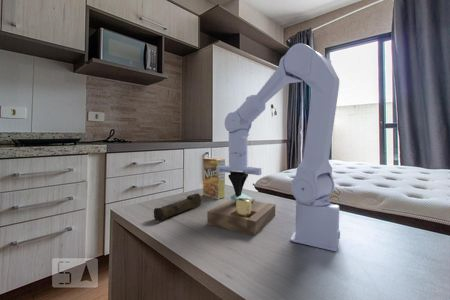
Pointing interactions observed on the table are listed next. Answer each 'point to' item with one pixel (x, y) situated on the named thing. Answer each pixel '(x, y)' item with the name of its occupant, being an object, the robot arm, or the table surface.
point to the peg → (243, 207)
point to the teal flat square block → (241, 197)
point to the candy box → (213, 178)
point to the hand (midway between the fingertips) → (238, 196)
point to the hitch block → (228, 219)
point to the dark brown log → (177, 207)
